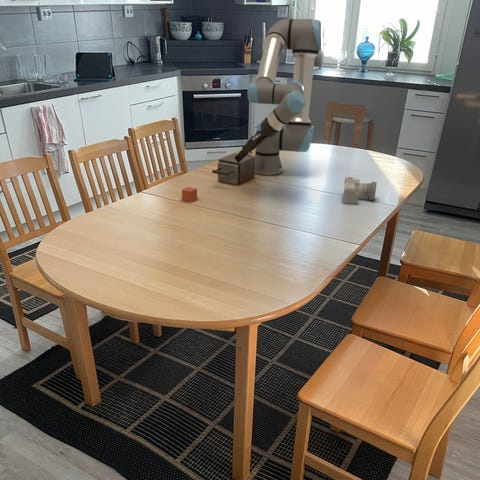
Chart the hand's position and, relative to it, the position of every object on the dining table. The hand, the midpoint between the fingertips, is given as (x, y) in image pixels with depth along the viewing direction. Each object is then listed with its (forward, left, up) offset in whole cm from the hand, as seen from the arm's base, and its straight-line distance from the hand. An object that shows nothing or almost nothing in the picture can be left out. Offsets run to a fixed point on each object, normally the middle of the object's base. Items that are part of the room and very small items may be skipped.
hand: (236, 159), depth 213 cm
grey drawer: (-8, 0, -11) cm, 14 cm away
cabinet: (-11, +5, -12) cm, 18 cm away
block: (+9, -24, -12) cm, 29 cm away
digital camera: (+31, +44, -13) cm, 55 cm away
